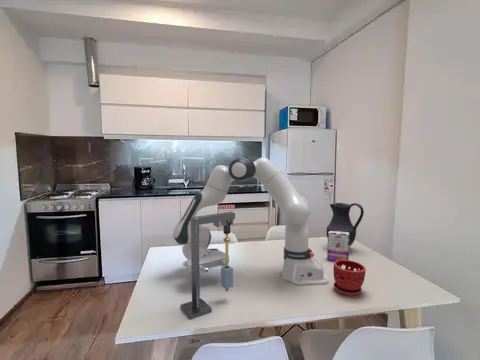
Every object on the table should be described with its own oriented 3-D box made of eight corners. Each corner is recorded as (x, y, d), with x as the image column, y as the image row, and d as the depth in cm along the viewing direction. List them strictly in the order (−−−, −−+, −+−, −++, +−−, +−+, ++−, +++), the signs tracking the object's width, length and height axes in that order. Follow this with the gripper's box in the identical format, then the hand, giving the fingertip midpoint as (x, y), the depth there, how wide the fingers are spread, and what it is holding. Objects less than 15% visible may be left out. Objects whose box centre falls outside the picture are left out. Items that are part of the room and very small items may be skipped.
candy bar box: (348, 260, 165) (349, 232, 163) (348, 264, 160) (349, 234, 158) (327, 257, 169) (328, 229, 167) (326, 260, 164) (327, 232, 162)
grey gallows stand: (227, 293, 127) (227, 210, 123) (238, 302, 120) (239, 214, 116) (180, 308, 115) (178, 217, 111) (190, 319, 108) (188, 222, 104)
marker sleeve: (228, 283, 124) (228, 264, 123) (232, 286, 121) (232, 267, 120) (220, 285, 122) (220, 266, 121) (225, 288, 119) (225, 269, 118)
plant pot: (347, 300, 122) (348, 273, 120) (326, 287, 134) (327, 261, 132) (371, 294, 127) (372, 268, 126) (348, 281, 139) (349, 257, 137)
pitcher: (331, 243, 194) (333, 198, 190) (364, 250, 182) (367, 202, 178) (321, 251, 180) (323, 202, 176) (357, 258, 168) (359, 206, 164)
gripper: (181, 256, 134) (194, 266, 122) (220, 247, 145) (235, 256, 134) (181, 269, 134) (194, 281, 123) (220, 260, 146) (235, 269, 134)
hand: (216, 268), depth 128 cm, fingers open, 8 cm apart
